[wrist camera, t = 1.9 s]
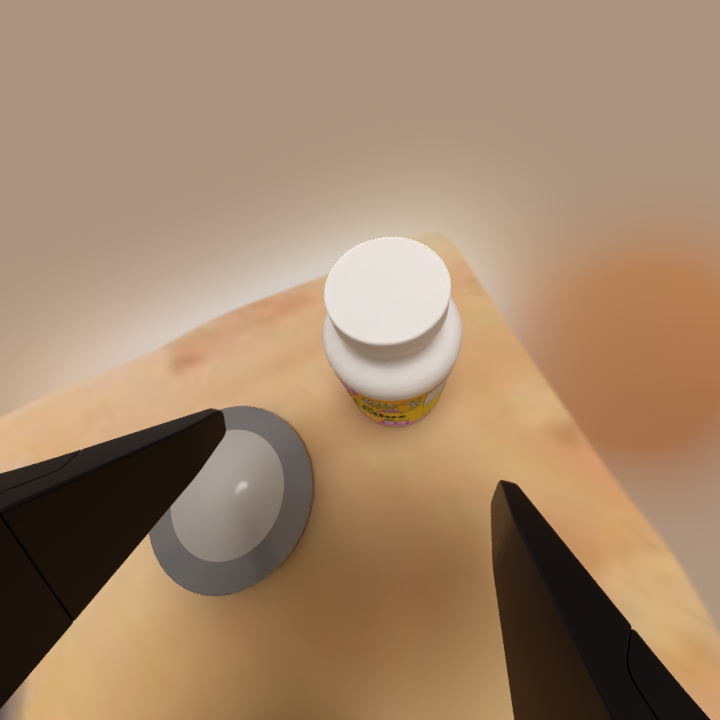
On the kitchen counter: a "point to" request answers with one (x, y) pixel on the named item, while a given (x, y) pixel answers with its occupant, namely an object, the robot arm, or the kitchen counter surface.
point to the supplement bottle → (391, 328)
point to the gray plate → (239, 507)
